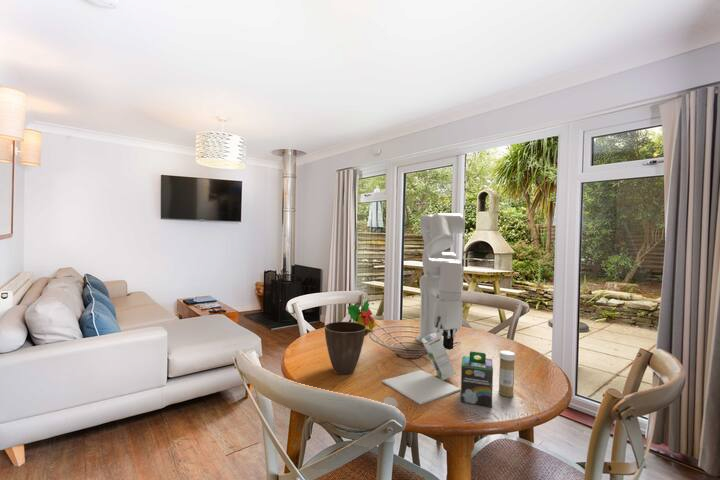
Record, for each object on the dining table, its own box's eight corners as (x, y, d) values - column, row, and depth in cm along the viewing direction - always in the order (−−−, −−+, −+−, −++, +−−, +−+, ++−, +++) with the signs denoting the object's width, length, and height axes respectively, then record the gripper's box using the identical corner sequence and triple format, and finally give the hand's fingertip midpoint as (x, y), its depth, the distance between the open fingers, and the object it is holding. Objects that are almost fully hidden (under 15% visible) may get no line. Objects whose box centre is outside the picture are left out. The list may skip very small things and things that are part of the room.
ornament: (360, 338, 165) (362, 307, 165) (346, 335, 170) (347, 304, 169) (380, 328, 183) (381, 300, 183) (366, 326, 187) (367, 298, 187)
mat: (421, 371, 127) (421, 370, 127) (460, 390, 112) (460, 389, 112) (382, 382, 117) (382, 380, 117) (420, 404, 102) (420, 402, 102)
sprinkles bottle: (514, 393, 112) (516, 351, 112) (512, 398, 108) (513, 355, 108) (499, 389, 114) (501, 349, 114) (496, 394, 111) (498, 352, 110)
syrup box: (436, 374, 125) (419, 339, 124) (451, 367, 125) (434, 331, 124) (442, 381, 119) (424, 344, 118) (457, 373, 120) (439, 336, 119)
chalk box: (491, 395, 110) (493, 348, 110) (492, 408, 102) (494, 358, 101) (461, 389, 113) (463, 344, 113) (459, 402, 105) (461, 353, 104)
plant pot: (315, 367, 127) (316, 324, 127) (348, 360, 137) (349, 319, 136) (338, 382, 116) (339, 334, 115) (372, 372, 125) (374, 328, 124)
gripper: (455, 292, 129) (453, 342, 129) (426, 295, 120) (425, 348, 121) (472, 296, 123) (470, 348, 123) (443, 299, 114) (441, 355, 114)
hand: (448, 348), depth 122 cm, fingers closed
